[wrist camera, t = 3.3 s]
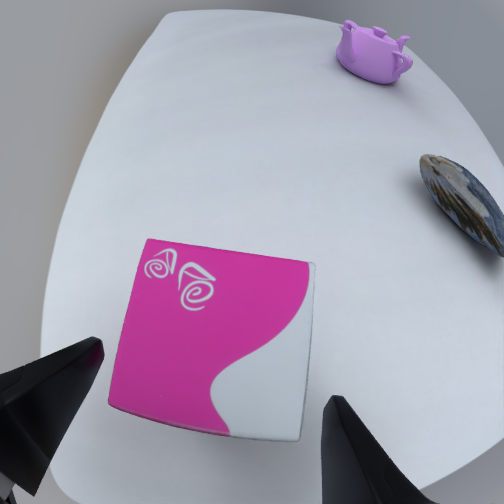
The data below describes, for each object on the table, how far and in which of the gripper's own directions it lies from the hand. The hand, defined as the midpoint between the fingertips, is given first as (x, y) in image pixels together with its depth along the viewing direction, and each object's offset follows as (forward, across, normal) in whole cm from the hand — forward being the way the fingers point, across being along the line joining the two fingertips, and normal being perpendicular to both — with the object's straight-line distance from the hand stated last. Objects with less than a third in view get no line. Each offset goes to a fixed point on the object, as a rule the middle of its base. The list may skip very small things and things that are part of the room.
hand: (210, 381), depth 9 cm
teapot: (+40, -12, -26) cm, 49 cm away
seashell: (+19, -22, -6) cm, 30 cm away
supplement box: (+7, 0, +6) cm, 9 cm away
